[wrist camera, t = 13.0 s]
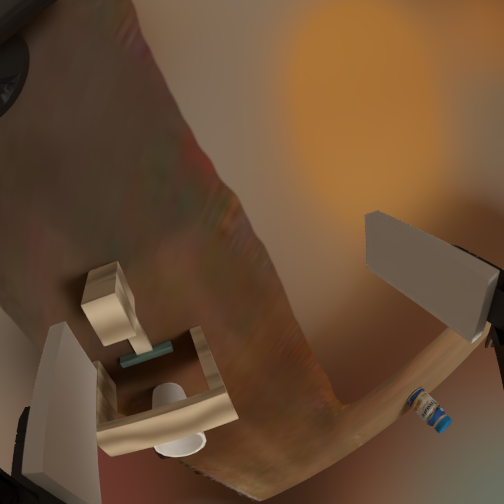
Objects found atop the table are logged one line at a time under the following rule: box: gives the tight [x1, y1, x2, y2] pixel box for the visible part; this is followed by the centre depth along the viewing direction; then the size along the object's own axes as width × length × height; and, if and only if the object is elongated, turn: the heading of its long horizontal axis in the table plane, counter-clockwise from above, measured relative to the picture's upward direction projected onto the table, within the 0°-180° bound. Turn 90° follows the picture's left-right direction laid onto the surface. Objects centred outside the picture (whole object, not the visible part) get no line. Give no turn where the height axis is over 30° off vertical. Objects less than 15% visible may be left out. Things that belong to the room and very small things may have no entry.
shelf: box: [92, 326, 239, 457], centre depth 46 cm, size 7×22×16 cm, turn 102°
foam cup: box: [152, 383, 206, 457], centre depth 52 cm, size 10×9×13 cm
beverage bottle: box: [407, 388, 452, 433], centre depth 92 cm, size 8×8×20 cm
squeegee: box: [81, 260, 174, 368], centre depth 44 cm, size 18×10×10 cm, turn 13°
